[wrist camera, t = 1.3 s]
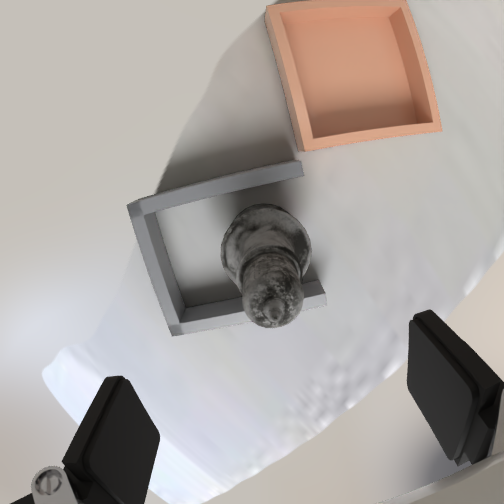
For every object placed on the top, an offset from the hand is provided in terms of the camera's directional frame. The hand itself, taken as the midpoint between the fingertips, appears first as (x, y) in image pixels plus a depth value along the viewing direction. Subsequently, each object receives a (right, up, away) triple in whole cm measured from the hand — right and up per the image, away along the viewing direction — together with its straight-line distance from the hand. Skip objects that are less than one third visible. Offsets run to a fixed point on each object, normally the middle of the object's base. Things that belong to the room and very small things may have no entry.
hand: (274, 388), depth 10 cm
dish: (+6, +17, +11) cm, 21 cm away
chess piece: (0, +5, +15) cm, 16 cm away
